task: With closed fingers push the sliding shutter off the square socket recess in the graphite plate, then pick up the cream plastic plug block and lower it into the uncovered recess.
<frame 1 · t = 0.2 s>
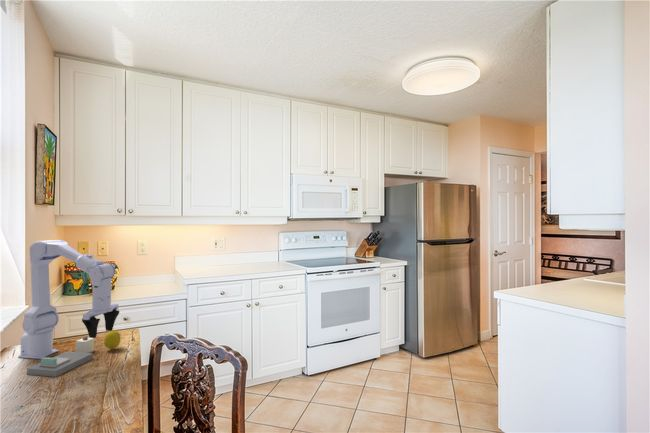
hand: (101, 333, 126), 10 cm above the table, tool pointing down, fingers open, 7 cm apart
socket plate: (61, 366, 121), on the table
lemon: (112, 350, 137), on the table
shutter: (55, 359, 119), point 3 cm above the table, slide at 0.0 cm
plug: (84, 352, 134), on the table
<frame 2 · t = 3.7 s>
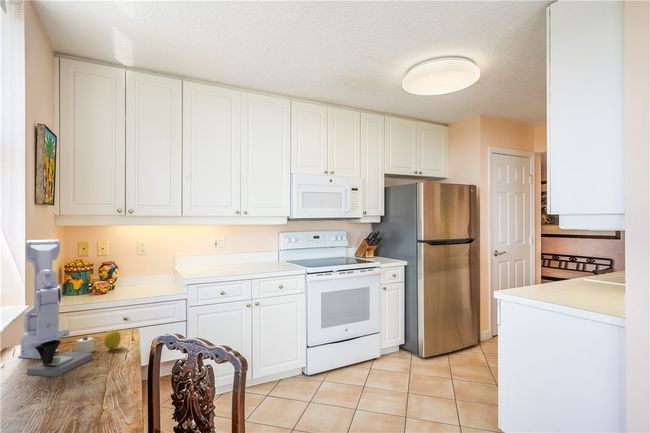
hand: (47, 363, 116), 3 cm above the table, tool pointing down, fingers closed
shutter: (58, 357, 120), point 3 cm above the table, slide at 1.2 cm, touching gripper
everything else where it was.
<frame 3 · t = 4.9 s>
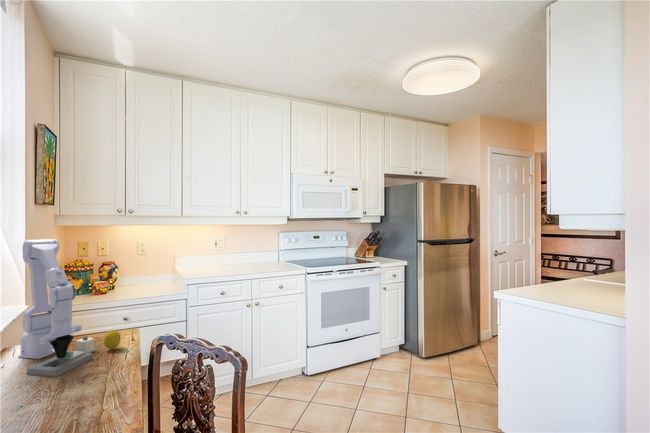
hand: (61, 357, 121), 3 cm above the table, tool pointing down, fingers closed
shutter: (71, 352, 125), point 3 cm above the table, slide at 6.4 cm, touching gripper
everything else where it was.
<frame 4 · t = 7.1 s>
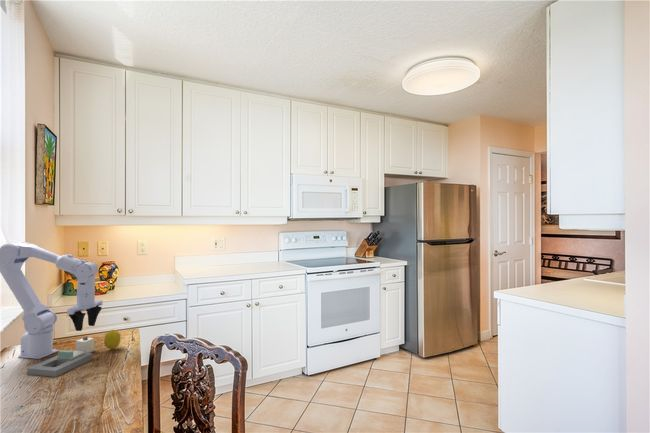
hand: (85, 328, 134), 9 cm above the table, tool pointing down, fingers open, 5 cm apart
shutter: (71, 352, 125), point 3 cm above the table, slide at 6.4 cm
everything else where it was.
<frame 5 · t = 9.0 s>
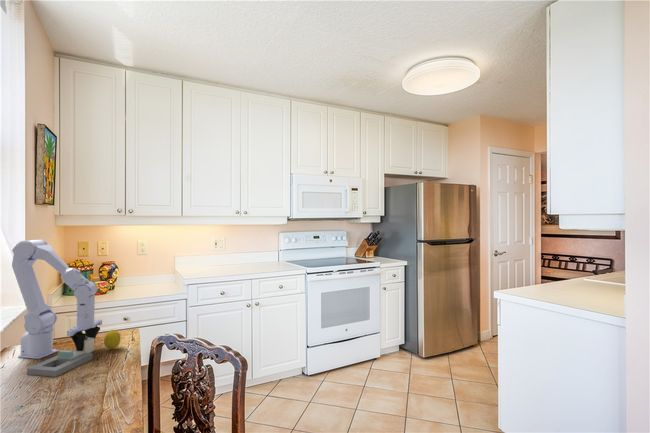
hand: (85, 348, 134), 1 cm above the table, tool pointing down, fingers closed on plug, 4 cm apart
plug: (84, 352, 134), on the table, touching gripper
everything else where it was.
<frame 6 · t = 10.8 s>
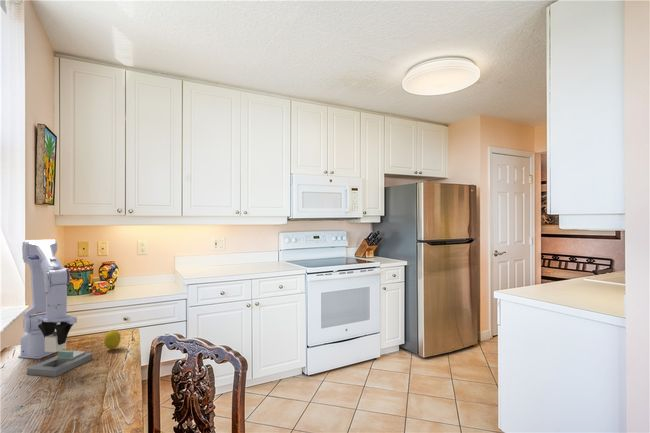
hand: (55, 343, 119), 9 cm above the table, tool pointing down, fingers closed on plug, 4 cm apart
plug: (55, 349, 119), point 7 cm above the table, touching gripper
everything else where it was.
when the fingers open (3 cm above the table, at t = 12.4 s): plug stays where it is, resting in socket plate.
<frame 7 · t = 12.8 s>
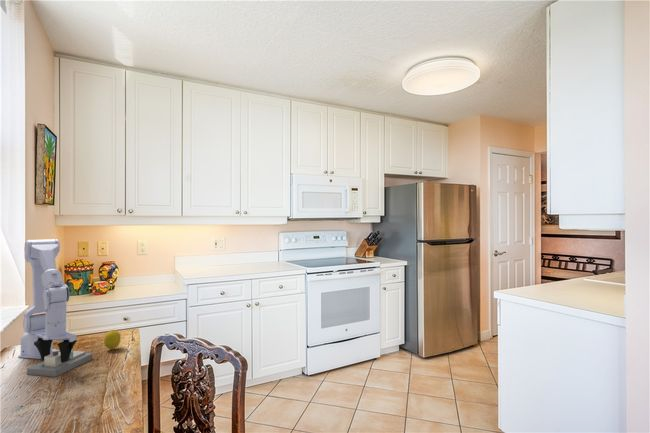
hand: (55, 360, 119), 3 cm above the table, tool pointing down, fingers open, 7 cm apart
plug: (55, 369, 119), resting in socket plate
everything else where it was.
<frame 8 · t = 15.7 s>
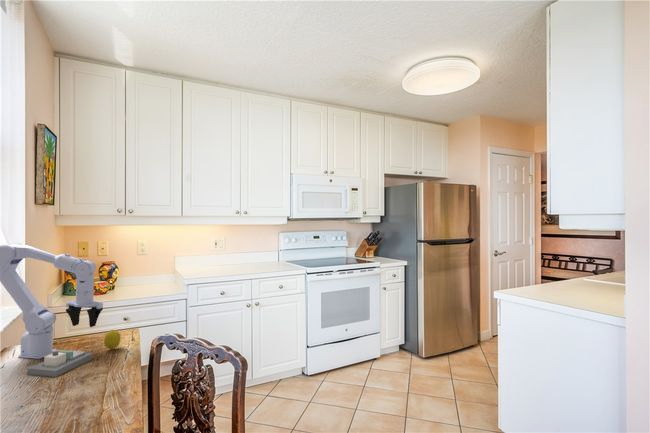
hand: (84, 325, 135), 10 cm above the table, tool pointing down, fingers open, 7 cm apart
nothing on the table moved.
at the end: plug 0.1 cm from the target spot on the socket plate, point 0.0 cm above the socket plate's base; shutter slide at 6.4 cm; plug tilted 0° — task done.
